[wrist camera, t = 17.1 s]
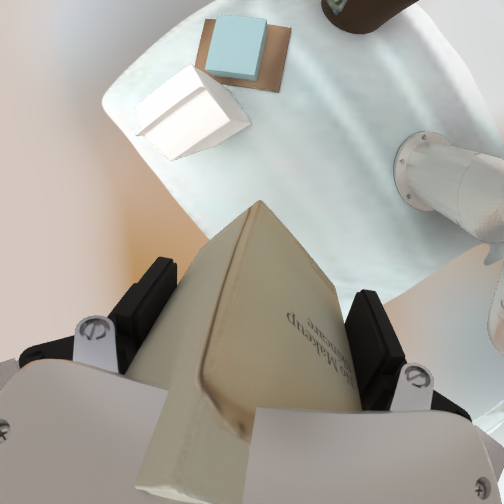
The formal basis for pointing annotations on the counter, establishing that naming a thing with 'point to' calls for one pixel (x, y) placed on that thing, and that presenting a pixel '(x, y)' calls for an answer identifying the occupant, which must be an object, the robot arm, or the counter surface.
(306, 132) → the counter surface
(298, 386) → the skincare box
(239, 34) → the brick
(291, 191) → the counter surface
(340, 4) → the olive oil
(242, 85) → the board
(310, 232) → the counter surface
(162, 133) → the milk
